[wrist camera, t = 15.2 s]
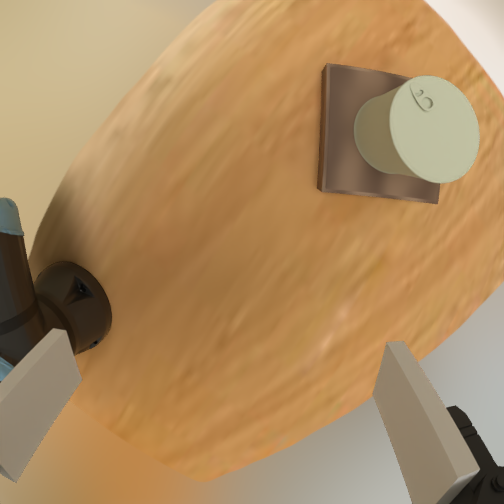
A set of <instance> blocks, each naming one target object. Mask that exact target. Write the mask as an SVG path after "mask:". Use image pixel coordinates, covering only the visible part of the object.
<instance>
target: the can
mask: <svg viewBox="0 0 504 504" xmlns="http://www.w3.org/2000/svg"><path fill="white" fill-rule="evenodd" d="M354 138H355V143H356V146H357V148H358V150H359V152H360V154H361V155H362V157H363V158H364V159H365V161H366V162H367V163H368V164H370V165H371V166H372V167H374V168H375V169H377V170H379V171H381V172H384V173H389V174H402V175H408V176H412V177H417V178H421V179H424V180H427V181H429V182H433V183H449V182H452V181H455V180H457V179H459V178H461V177H462V176H463V175H464V174H466V173H467V172H468V170H469V169H470V168H471V166H472V165H473V163H474V161H475V159H476V156H477V153H478V148H479V140H480V134H479V126H478V121H477V118H476V115H475V112H474V110H473V108H472V106H471V104H470V102H469V101H468V99H467V98H466V97H465V95H464V94H463V93H462V92H461V91H460V90H459V89H458V88H457V87H456V86H455V85H453V84H452V83H450V82H448V81H447V80H445V79H442V78H440V77H436V76H430V75H424V76H418V77H415V78H412V79H410V80H408V81H407V82H405V83H404V84H403V85H401V86H399V87H397V88H395V89H393V90H391V91H389V92H387V93H385V94H383V95H381V96H377V97H374V98H372V99H370V100H369V101H367V102H366V103H365V104H364V105H363V106H362V107H361V108H360V110H359V111H358V113H357V116H356V118H355V122H354Z"/></svg>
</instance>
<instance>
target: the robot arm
mask: <svg viewBox="0 0 504 504" xmlns="http://www.w3.org/2000/svg"><path fill="white" fill-rule="evenodd" d="M23 236H24V232H23V231H22V228H21V223H20V218H19V213H18V208H17V206H16V204H15V203H14V201H12V200H11V199H9V198H0V473H1V474H2V475H3V476H5V477H6V478H8V479H10V480H12V481H13V482H15V483H17V481H18V479H19V477H20V476H21V474H22V472H23V471H24V469H25V467H26V466H27V464H28V462H29V461H30V459H31V457H32V456H33V454H34V452H35V451H36V449H37V447H38V446H39V445H40V443H41V441H42V440H43V438H44V436H45V435H46V433H47V432H48V430H49V429H50V427H51V426H52V424H53V423H54V421H55V420H56V418H57V417H58V415H59V413H60V412H61V411H62V409H63V407H64V406H65V405H66V403H67V401H68V400H69V399H70V397H71V396H72V394H73V393H74V391H75V390H76V388H77V387H78V385H79V384H80V383H81V381H82V378H81V375H80V372H79V369H78V366H77V363H76V360H75V357H74V356H75V355H77V354H80V353H82V352H84V351H86V350H89V349H91V348H93V347H95V346H97V345H98V344H99V343H100V342H101V341H102V340H103V339H104V337H105V336H106V335H107V333H108V332H109V329H110V326H111V309H110V305H109V302H108V299H107V297H106V294H105V292H104V291H103V289H102V287H101V286H100V284H99V283H98V282H97V280H96V279H95V278H94V277H93V276H92V275H91V274H90V273H89V272H87V271H86V270H85V269H83V268H82V267H80V266H78V265H76V264H74V263H70V262H57V263H54V264H52V265H51V266H49V267H47V268H46V269H44V270H43V271H42V272H41V273H40V274H39V276H38V277H37V279H36V281H35V282H34V284H33V281H32V277H31V273H30V268H29V264H28V260H27V254H26V249H25V244H24V238H23ZM373 397H374V399H375V402H376V404H377V407H378V409H379V412H380V414H381V417H382V419H383V422H384V425H385V428H386V430H387V433H388V436H389V438H390V441H391V444H392V446H393V449H394V452H395V454H396V457H397V460H398V463H399V466H400V469H401V471H402V474H403V477H404V480H405V483H406V486H407V489H408V492H409V495H410V498H411V501H412V504H504V467H501V466H497V464H496V463H495V462H494V460H493V458H492V456H491V454H490V453H489V451H488V449H487V448H486V446H485V444H484V442H483V441H482V439H481V437H480V436H479V435H477V431H476V429H475V428H474V426H472V423H471V421H470V419H469V418H468V416H467V415H466V414H465V413H464V412H463V411H462V410H461V409H459V408H458V407H457V406H451V407H447V408H445V405H444V404H443V402H442V401H441V399H440V397H439V396H438V394H437V392H436V391H435V389H434V388H433V386H432V384H431V383H430V381H429V379H428V378H427V376H426V375H425V373H424V372H423V370H422V368H421V367H420V365H419V364H418V362H417V361H416V359H415V358H414V356H413V354H412V353H411V351H410V350H409V348H408V347H407V345H406V344H405V342H404V341H396V342H386V346H385V350H384V354H383V358H382V362H381V366H380V370H379V373H378V377H377V380H376V384H375V387H374V390H373Z"/></svg>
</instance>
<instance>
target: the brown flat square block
mask: <svg viewBox="0 0 504 504" xmlns="http://www.w3.org/2000/svg"><path fill="white" fill-rule="evenodd" d="M410 79H412V78H409V77H405V76H400V75H396V74H391V73H386V72H381V71H376V70H370V69H364V68H358V67H352V66H345V65H338V64H329V63H327V64H326V65H325V67H324V69H323V71H322V91H321V125H320V148H319V167H318V183H317V189H319V190H320V191H321V192H328V193H340V194H351V195H362V196H372V197H382V198H391V199H400V200H408V201H416V202H424V203H432V204H438V199H439V190H440V183H433V182H429V181H427V180H424V179H421V178H417V177H412V176H408V175H402V174H389V173H384V172H381V171H379V170H377V169H375V168H374V167H372V166H371V165H370V164H368V163H367V162H366V161H365V159H364V158H363V157H362V155H361V154H360V152H359V150H358V148H357V146H356V143H355V138H354V122H355V118H356V116H357V113H358V111H359V110H360V108H361V107H362V106H363V105H364V104H365V103H366V102H367V101H369V100H370V99H372V98H374V97H377V96H381V95H383V94H385V93H387V92H389V91H391V90H393V89H395V88H397V87H399V86H401V85H403V84H404V83H405V82H407V81H408V80H410Z"/></svg>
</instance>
